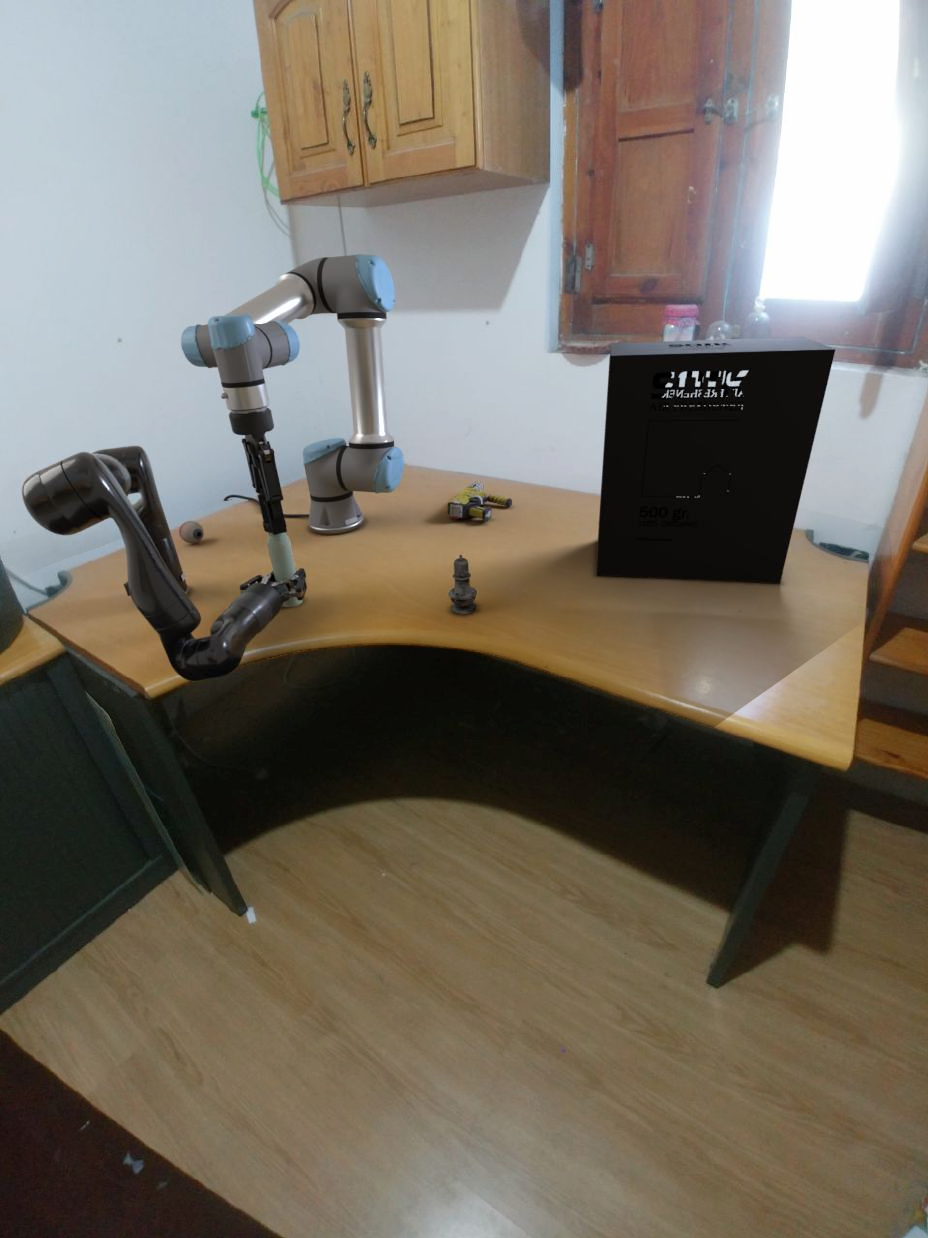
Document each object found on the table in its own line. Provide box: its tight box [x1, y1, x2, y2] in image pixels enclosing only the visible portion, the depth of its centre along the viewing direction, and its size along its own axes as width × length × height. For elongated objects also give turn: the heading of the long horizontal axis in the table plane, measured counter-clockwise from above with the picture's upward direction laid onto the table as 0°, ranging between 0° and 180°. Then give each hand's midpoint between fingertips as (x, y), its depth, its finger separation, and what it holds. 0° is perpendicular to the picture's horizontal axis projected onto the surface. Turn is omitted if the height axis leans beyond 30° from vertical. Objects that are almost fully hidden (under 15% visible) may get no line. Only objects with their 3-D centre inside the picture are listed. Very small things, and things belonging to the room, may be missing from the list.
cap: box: [262, 517, 288, 534], centre depth 121 cm, size 4×4×2 cm
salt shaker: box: [448, 554, 478, 615], centre depth 121 cm, size 6×6×12 cm
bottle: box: [266, 532, 304, 608], centre depth 126 cm, size 5×5×18 cm
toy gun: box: [446, 480, 513, 523], centre depth 174 cm, size 5×24×15 cm
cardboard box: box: [595, 336, 836, 584], centre depth 127 cm, size 38×20×45 cm, turn 78°
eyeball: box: [178, 520, 205, 545], centre depth 161 cm, size 6×6×6 cm
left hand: (291, 571), depth 130 cm, fingers closed on bottle, 4 cm apart
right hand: (275, 528), depth 122 cm, fingers open, 5 cm apart
